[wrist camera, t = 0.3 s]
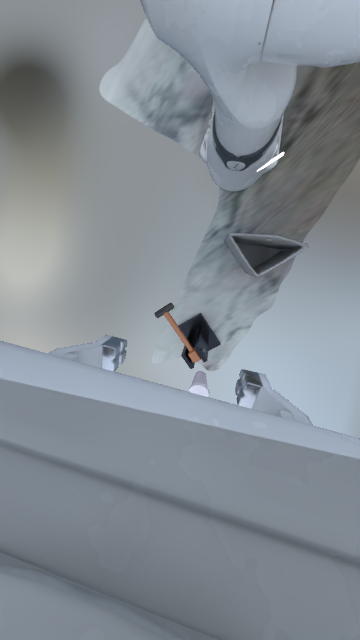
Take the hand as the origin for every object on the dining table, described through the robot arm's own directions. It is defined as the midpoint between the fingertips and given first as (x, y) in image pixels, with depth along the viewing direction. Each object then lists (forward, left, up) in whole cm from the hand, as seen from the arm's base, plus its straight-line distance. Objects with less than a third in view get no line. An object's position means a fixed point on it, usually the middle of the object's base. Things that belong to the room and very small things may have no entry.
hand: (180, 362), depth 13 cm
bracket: (+17, +1, -47) cm, 50 cm away
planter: (-9, +10, -47) cm, 49 cm away
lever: (+12, -3, -34) cm, 36 cm away
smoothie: (+32, +5, -47) cm, 57 cm away
